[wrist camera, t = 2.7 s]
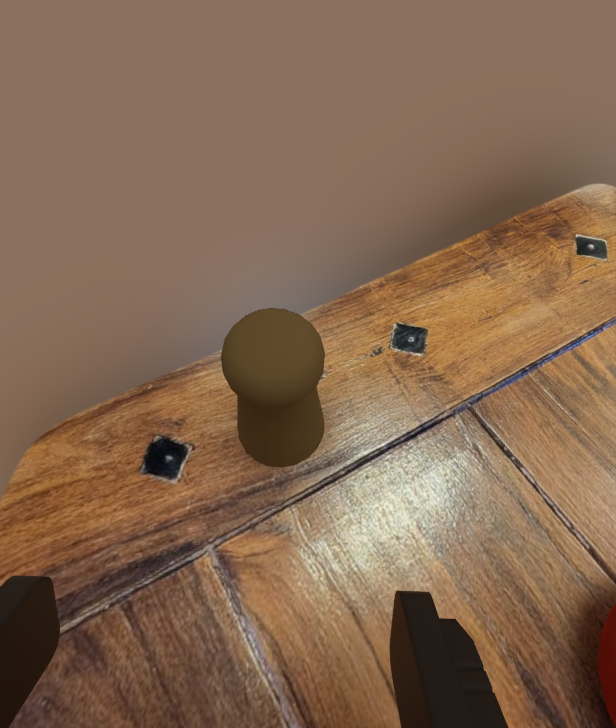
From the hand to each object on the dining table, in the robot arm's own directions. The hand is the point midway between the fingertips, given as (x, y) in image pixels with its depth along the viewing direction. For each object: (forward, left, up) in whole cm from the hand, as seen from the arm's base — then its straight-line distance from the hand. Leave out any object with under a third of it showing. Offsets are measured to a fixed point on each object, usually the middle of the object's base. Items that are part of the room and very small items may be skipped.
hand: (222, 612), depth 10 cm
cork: (-3, +11, -17) cm, 20 cm away
